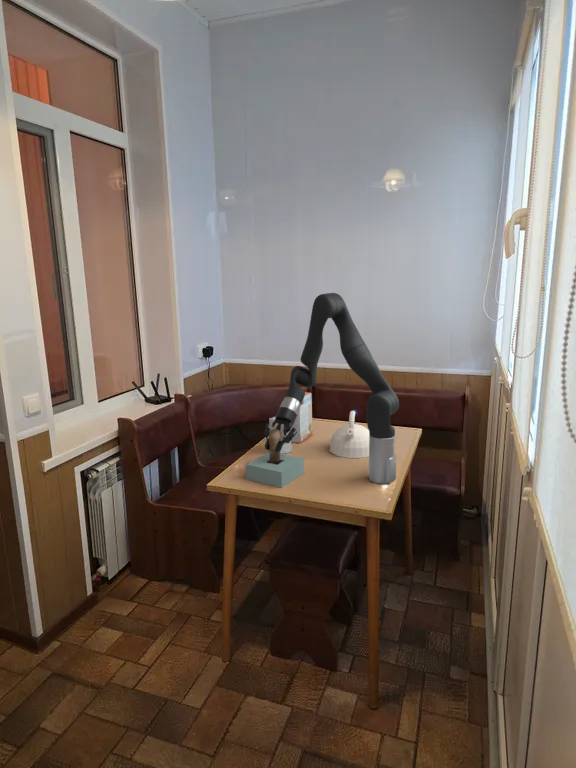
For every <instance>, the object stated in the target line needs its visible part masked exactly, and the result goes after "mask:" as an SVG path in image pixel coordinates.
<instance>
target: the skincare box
mask: <svg viewBox="0 0 576 768" xmlns="http://www.w3.org/2000/svg"><path fill="white" fill-rule="evenodd" d="M275 417H276V416H273V417H269V421H268V424H272V423H273V422H274V421H275ZM272 429H273V427H272ZM272 429H271V430H272ZM289 432H290V431H289ZM289 432H288V433H289ZM288 433H287V435H288ZM291 452H292V442H291V441H290V442H289V443H284V444H283V446H282V449H281V451H280V454H284V455H285V454H288V453H291Z"/></svg>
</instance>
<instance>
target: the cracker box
mask: <svg viewBox="0 0 576 768" xmlns="http://www.w3.org/2000/svg"><path fill="white" fill-rule="evenodd" d="M304 392H305V396H304V399H303V401H302V404H301V406H300V410H299V412H298V415H297V417H296V420H295V422H294V424H293V425H292V428H295V429H296V430H297V433H296V435H295V436H294V437H293V439H292V440H291V443H293V444H294V443H295V444H301V443H303V442H305V441H306V440H307V439H308V438H310V437H311V436H312V435H313V407H312V405H313V404H312V403H313V401H312V398H313V397H312V392H306V391H304Z"/></svg>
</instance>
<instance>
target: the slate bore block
mask: <svg viewBox="0 0 576 768" xmlns="http://www.w3.org/2000/svg"><path fill="white" fill-rule="evenodd" d="M245 474H246V475H245V476H246V478H245V480H248V481H253V482H256V483H259V484H264V485H269V486H271V487H277V488H279V489H282V488H284V487H285V486H287V485H288V484H290V483H291V482H293V481H294V480H297V478H299V477H301V476H302V475H305V458H303V457H297V456H293V455H288V454H285V453H284V454H280V463H279V464H278V465H276V464H271V463H270V454H269V452H266V453H265V454H263V455H260V456H258V457H257V458H255V459H253V460H251V461H250V462H247V463H246V464H245Z"/></svg>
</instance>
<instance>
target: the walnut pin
mask: <svg viewBox="0 0 576 768" xmlns="http://www.w3.org/2000/svg"><path fill="white" fill-rule="evenodd" d="M278 441H280V431H279V430H277V429H272V430H269V450H268V451H269V454H270V463H271V464H276V465H278V464H279V463H280V451H279V452H276V451H275V448H276V446H277V443H278Z"/></svg>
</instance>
